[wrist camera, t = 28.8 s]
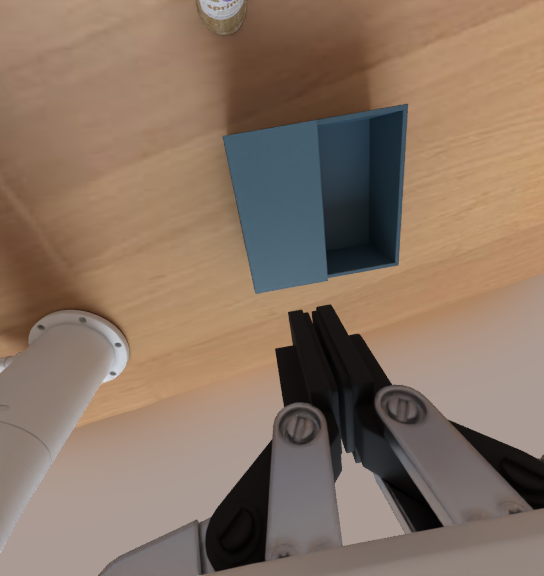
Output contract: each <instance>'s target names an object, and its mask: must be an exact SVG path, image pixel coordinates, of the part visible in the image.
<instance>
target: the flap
mask: <svg viewBox="0 0 544 576" xmlns="http://www.w3.org/2000/svg"><path fill="white" fill-rule="evenodd" d="M223 139H224V143H225V148H226V153H227V158H228V163H229V168H230V172H231V177H232V182H233V187H234V192H235V196H236V201H237V206H238V211H239V216H240V221H241V225H242V230H243V235H244V240H245V245H246V249H247V254H248V259H249V264H250V269H251V274H252V278H253V283H254V288H255V293H256V294H257V293H263V292H268V291H274V290H279V289H285V288H290V287H296V286H301V285H307V284H312V283H318V282H323V281H328V275H327V260H326V246H325V231H324V217H323V202H322V188H321V174H320V159H319V145H318V130H317V120H313V121H307V122H301V123H295V124H290V125H284V126H278V127H272V128H266V129H261V130H255V131H249V132H243V133H238V134H232V135H226V136H223Z"/></svg>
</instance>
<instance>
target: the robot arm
mask: <svg viewBox="0 0 544 576" xmlns="http://www.w3.org/2000/svg"><path fill="white" fill-rule="evenodd" d="M288 315H289V322H290V329H291V335H292V342H293V346H287V347H282V348H276V349H275V351H276V358H277V364H278V370H279V376H280V384H281V390H282V397H283V402H284V408H283V409H282V410H281V411H279V413H278V414H277V416H276V418H275V420H274V425H273V438H272V440H271V441H270V443H269V444H268V445H267V446H266V448H265V449H264V450H263V451H262V453H261V454H260V455H259V457H258V458H257V459H256V460H255V461H254V463H253V464H252V465H251V467H250V468H249V469H248V470H247V471H246V473H245V474H244V475H243V476H242V478H241V479H240V480H239V482H238V483H237V484H236V485H235V487H234V488H233V489H232V490H231V492H230V493H229V494H228V495H227V496H226V498H225V499H224V500H223V501H222V503H221V504H220V505H219V506H218V508H217V509H216V511H215V512H214V514H213V515H212V517H211V518H208V519H206V520H204V521H202V522H200V523H199V522H198V520H195V521H193V522H191V523H189V524H187V525H185V526H182V527H180V528H178V529H176V530H174V531H172V532H169V533H167V534H165V535H163V536H161V537H159V538H157V539H155V540H153V541H150V542H148V543H146V544H144V545H142V546H140V547H138V548H135V549H133V550H131V551H129V552H127V553H125V554H123V555H121V556H119V557H118V558H116V559H115V560H113V561H112V562H110V563H109V564H108V565H107V566H106V567H105V568H104V570H103V571H102V572H101V573H100V574H99V575H98V576H544V455H542V458H541V459H537V458H535V457H533V456H531V455H529V454H527V453H525V452H523V451H521V450H519V449H517V448H514V447H512V446H509V445H507V444H505V443H502V442H499V441H497V440H495V439H493V438H490V437H488V436H485V435H483V434H481V433H478V432H476V431H474V430H471V429H469V428H466V427H464V426H462V425H459V424H457V423H455V422H452V421H450V420H447V419H446V418H445V417H444V416H443V415H442V413H441V412H440V411H438V409H437V408H436V407H435V406H434V405H433V404H432V403H431V402H430V401H429V400H428V399H427V398H426V397H425V396H424V395H422V394H421V393H420V392H419V391H417V390H415V389H413V388H411V387H407V386H403V385H392V384H391V383H390V381H389V379H388V378H387V376H386V374H385V373H384V371H383V370H382V368H381V367H380V365H379V364H378V362H377V360H376V359H375V357H374V356H373V354H372V353H371V351H370V349H369V348H368V346H367V344H366V343H365V341H364V340H363V338H362V337H361V335H360V334H353V335H348V333H347V332H346V330H345V328H344V326H343V325H342V323H341V321H340V319H339V318H338V316H337V314H336V312H335V311H334V309H333V307H332V305H324V306H319V307H317V308H316V311H312V320H313V323H312V321H311V318H310V316H309V313H308V312H306V313H303V311H302V310H297V311H291V312H288ZM28 344H29V347H28V348H27V349H26V350H24V351H23V352H19V353H17V354H16V355H15V356H8V357H2V358H0V553H1V551H2V549H3V547H4V545H5V543H6V542H7V540H8V538H9V536H10V534H11V532H12V530H13V528H14V527H15V525H16V523H17V521H18V519H19V518H20V516H21V514H22V512H23V510H24V509H25V507H26V506H27V504H28V502H29V500H30V499H31V497H32V495H33V494H34V492H35V490H36V489H37V487H38V486H39V484H40V482H41V481H42V479H43V477H44V476H45V474H46V473H47V471H48V469H49V468H50V466H51V464H52V463H53V461H54V459H55V458H56V456H57V454H58V453H59V451H60V450H61V448H62V446H63V445H64V443H65V442H66V440H67V438H68V437H69V435H70V433H71V432H72V430H73V429H74V427H75V426H76V424H77V422H78V421H79V419H80V417H81V416H82V414H83V413H84V411H85V409H86V408H87V406H88V405H89V403H90V401H91V400H92V398H93V396H94V395H95V393H96V392H97V390H98V388H99V387H100V385H101V384H102V383H105V382H108V381H110V380H112V379H114V378H115V377H117V376H118V375H119V374H120V373H121V372H122V371H123V370H124V368H125V366H126V364H127V362H128V359H129V347H128V343H127V341H126V339H125V337H124V336H123V334H122V333H121V331H120V330H119V329H118V328H117V327H116V326H114V325H113V324H112V323H110V322H109V321H108V320H106V319H104V318H102V317H100V316H98V315H95V314H92V313H90V312H85V311H80V310H61V311H57V312H53V313H50V314H48V315H46V316H44V317H43V318H42V319H41V320H39V321H38V322H37V323H36V324H35V325H34V326H33V327H32V329H31V331H30V333H29V338H28ZM341 439H342V442H343V445H344V448H345V451H346V453H350V452H352V453H353V456H354V459H355V462H356V463H359V462H362V465H363V466H364V467H365V468H367V469H369V470H370V471H372V472H373V473H374V477H375V479H376V482H377V484H378V485H379V487H380V489H381V491H382V492H383V494H384V496H385V498H386V500H387V501H388V504H389V505H390V507H391V509H392V511H393V513H394V514H395V516H396V518H397V520H398V521H399V523H400V525H401V527H402V529H403V531H404V532H405V534H404V535H399V536H393V537H388V538H383V539H378V540H372V541H368V542H362V543H357V544H352V545H347V546H343V545H342V539H341V538H342V537H341V531H340V522H339V514H338V507H337V499H336V491H335V482H336V480H337V478H338V477H339V475H340V473H341V471H342V464H341V454H342V447H341Z"/></svg>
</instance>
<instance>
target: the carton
mask: <svg viewBox="0 0 544 576" xmlns="http://www.w3.org/2000/svg"><path fill="white" fill-rule="evenodd" d="M407 109H408V104H404V105H398V106H392V107H387V108H381V109H375V110H369V111H364V112H358V113H352V114H346V115H341V116H335V117H329V118H323V119H318V120H317V130H318V145H319V159H320V174H321V188H322V202H323V217H324V231H325V246H326V260H327V275H328V278H330V277H336V276H342V275H347V274H353V273H358V272H364V271H369V270H375V269H380V268H386V267H392V266H397V265H398V264H399V247H400V231H401V214H402V197H403V180H404V163H405V146H406V129H407V113H408V110H407ZM312 121H313V120H312ZM306 122H307V121H306ZM300 123H301V122H300ZM289 125H290V124H289ZM283 126H284V125H283ZM277 127H278V126H277ZM260 130H261V129H260ZM254 131H255V130H254ZM237 134H238V133H237ZM231 135H232V134H231ZM223 140H224V139H223ZM224 145H225V143H224ZM225 150H226V148H225ZM226 155H227V153H226ZM227 160H228V158H227ZM228 164H229V163H228ZM229 169H230V168H229ZM230 174H231V172H230ZM231 179H232V177H231ZM232 184H233V182H232ZM233 189H234V187H233ZM234 193H235V192H234ZM235 198H236V196H235ZM236 203H237V201H236ZM237 208H238V206H237ZM238 213H239V211H238ZM239 217H240V216H239ZM240 222H241V221H240ZM241 227H242V225H241ZM242 232H243V230H242ZM243 237H244V235H243ZM244 241H245V240H244ZM245 246H246V245H245ZM246 251H247V249H246ZM247 256H248V254H247ZM248 261H249V259H248ZM249 265H250V264H249ZM250 270H251V269H250ZM251 275H252V274H251ZM252 280H253V278H252ZM253 285H254V283H253ZM254 289H255V288H254Z"/></svg>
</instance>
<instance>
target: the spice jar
mask: <svg viewBox="0 0 544 576" xmlns="http://www.w3.org/2000/svg"><path fill="white" fill-rule="evenodd" d="M196 5H197V10H198V13H199V15H200V18H201V20H202V22H203V23H204V25H205V26H206V27H207V28H208V29H209V30H211V31H212V32H214V33H216V34H218V35H223V36H224V35H229V34H232V33H234V32H236V31H237V30H239V28H240V27H241V25H242V23H243V21H244V19H245V15H246V11H247V0H196Z"/></svg>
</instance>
